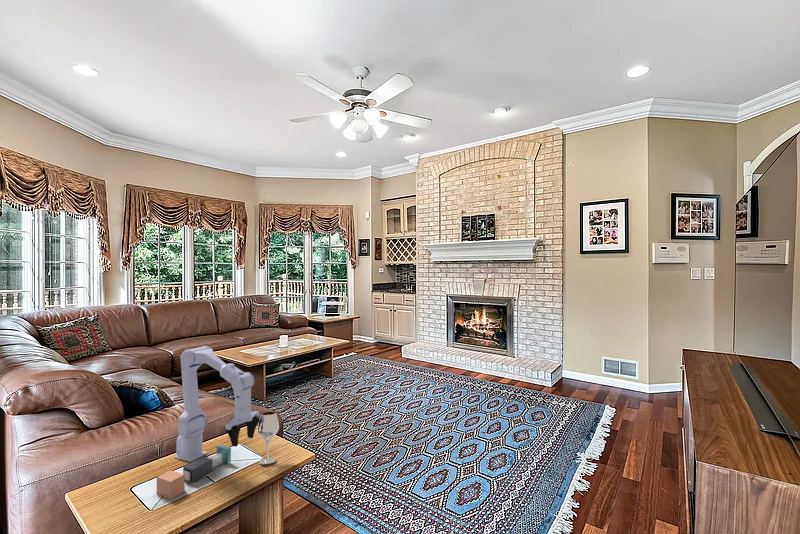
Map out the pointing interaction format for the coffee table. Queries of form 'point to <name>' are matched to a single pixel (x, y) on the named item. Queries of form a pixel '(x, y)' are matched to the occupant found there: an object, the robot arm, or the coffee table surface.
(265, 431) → the wineglass
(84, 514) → the coffee table surface
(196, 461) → the dark grey rectangular bar
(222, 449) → the grey and teal block
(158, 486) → the orange brown block
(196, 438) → the robot arm
